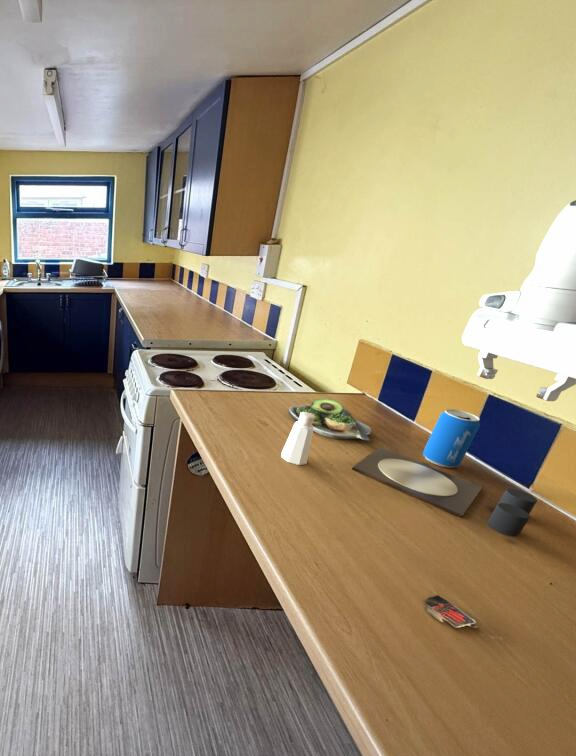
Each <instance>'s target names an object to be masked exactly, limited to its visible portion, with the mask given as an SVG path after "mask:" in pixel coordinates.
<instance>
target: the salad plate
mask: <svg viewBox="0 0 576 756" xmlns="http://www.w3.org/2000/svg"><path fill="white" fill-rule="evenodd" d="M301 412H308V413H311V414H313V415H314V416H315V419H314V421H313V423H312V425H313V433H316V434H318V435H320V436H323V437H327V438H330V439H333V440H341V441H342V440H343V441H345V440H357V439H359V440H363V441H367V442H369V441H370V437H369V435H371V433H372V430H371V427H370V426H369V425H367V424H365V423H363V422H361V421H359V420H358V419H356V418H355V417H353V415H352V413H350V411H349V410H347V409H345V408H344V406H343V405H342V403H340V402H339V401H337V400H334V399H330V398H319V399H315V400H313V401H312V402H311V404H310V405H292V406H290V407H289V408H288V414H289V415H290V417H291V418H292V419H293V420H294V421H295V422H297V421H299V417H300V413H301Z"/></svg>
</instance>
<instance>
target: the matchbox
mask: <svg viewBox="0 0 576 756" xmlns="http://www.w3.org/2000/svg"><path fill="white" fill-rule="evenodd" d="M423 603H424V604H426V606H425V607H424V608H425V609H424V610H425V611H427V613H428V614H429V615H430V616H432V617H433V618H435V619H436V620H437V621H439V622H441V623H444V621H445V622H446V623H448V624H449V625H451V626H452V627H454V628H458V629H459V628H461V627H465V626H468V627H471V628H473V629H477V628H478V627H479V626H480V625H479V624H476V623H477V621H476V620H475V619H474V618H472V617H471V616H469V615H468V613H466V612H464V611H463V610H461V609H459V608H458V607H457V606H456V605H455V604H454V603H453V602H451V601H449V600H447V599H445V598H443V597H442V596H440V595H439V594H435V595H432V596H428V597H427V598H426V599H425V600H424V601H423Z"/></svg>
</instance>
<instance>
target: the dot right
mask: <svg viewBox="0 0 576 756" xmlns="http://www.w3.org/2000/svg"><path fill="white" fill-rule="evenodd" d="M530 518H531V515H530V513H529V514H528V513H527V512H526V511H524V510H522V509H520V508H518V507H516V506H513V505H510V504H506V503H499V502H497V504H496V506H495V508H494V509H493V511H492V513H491V515H490V517H489V518H488V519H487V525H488V526H489V527H490V528H491V529H493V530H495V531H496V532H498V533H501V534H503V535H506V536H510V537H519V535H520V534H521V533H522V532H523V530H524V528H525V526H526V525H527V523H528V521H529V519H530Z"/></svg>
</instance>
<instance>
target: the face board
mask: <svg viewBox="0 0 576 756" xmlns="http://www.w3.org/2000/svg"><path fill="white" fill-rule="evenodd" d="M351 470H353V471H354V472H357V473H359V474H361V475H364V476H366V477H368V478H370V479H373V480H375V481H377V482H379V483H382V484H384V485H386V486H389V487H391V488H393V489H395V490H397V491H400V492H402V493H404V494H407V495H409V496H411V497H413V498H415V499H418V500H419V501H420V500H421V501H422V502H425V503H426V504H429V505H432V506H433V507H436V508H438V509H441V510H443V511H445V512H447V513H450V514H452V515H453V516H456V517H458V518H463V517H464V515H465V514H466V512H467V511H468V510H469V508H470V507H471V505H472V504H473V502H474V501H475V499H476V498H477V496H478V495H479V494H480V492H481V491H482V490H483V486H481V485H479V484H476V483H474V482H470V481H468V480H465V479H463V478H460V477H457V476H455V475H452V474H450V473H448V472H446V471H442V470H440V469H437V468H434V467H432V466H430V465H427V464H425V463H421V462H420V461H416V460H415V459H412V458H409V457H406V456H404V455H402V454H398V453H396V452H395V451H394V452H393V451H391V450H389V449H386V448H383V447H378V448H377V449H375V450H373V452H371V453H370V454H368V455H367V456H366V457H364V458H362V460H360V461H359V462H358V463H356V464H355V465H353V466H352V467H351Z"/></svg>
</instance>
